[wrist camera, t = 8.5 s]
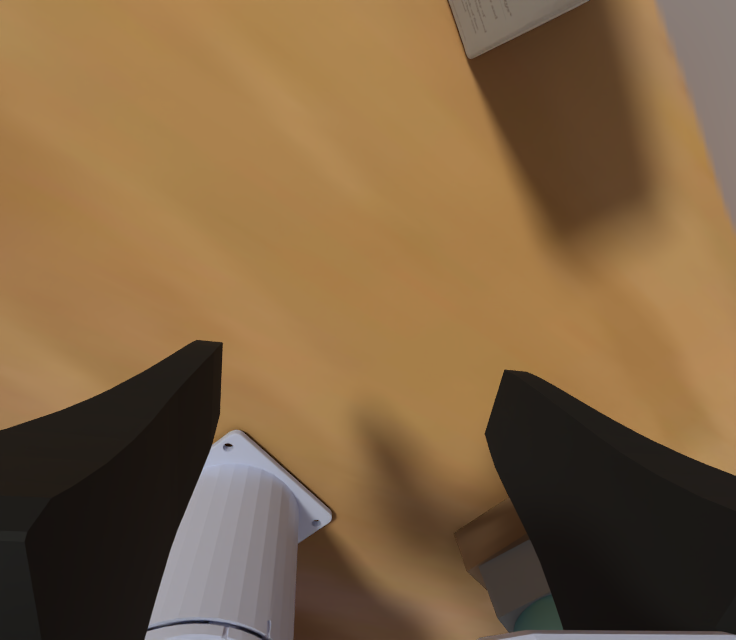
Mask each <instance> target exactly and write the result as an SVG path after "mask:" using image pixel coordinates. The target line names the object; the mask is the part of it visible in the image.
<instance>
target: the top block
mask: <svg viewBox="0 0 736 640" xmlns="http://www.w3.org/2000/svg"><path fill="white" fill-rule="evenodd" d="M479 569H480V572H481V575H482V577H483V580H484V583H485V585H486V588H487V591H488V593H489V596H490V599H491V602H492V604H493V607H494V610H495V612H496V615H497V618H498V619H499V621H500V622H501V623H502V624H503V625H504V627H505V628H506V629H507V630H508V632H509V633H511V632H514V626H515V623H516V621H517V619H518V617H519V616H520V615H521V613H522V612H523V611H524V610H525V609H526V608H527V607H528V606H530V605H531V604H532V603H534V602H535V601H537V600H539V599H541V598H543V597H545V596H548V595H551V591H550V589H549V586H548V583H547V580H546V578H545V575H544V572H543V569H542V567H541V564H540V561H539V559H538V557H537V554H536V552H535V550H534V547H533V545H532V543H531V541H530V539H529V540H527V541H525V542H523V543H522V544H520V545H518V546H516V547H514V548H512V549H510V550H508V551H506V552H504V553H503V554H501V555H499V556H497V557H495V558H493V559H491V560H489V561H487V562H486V563H484V564H482V565H480V566H479Z"/></svg>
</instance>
